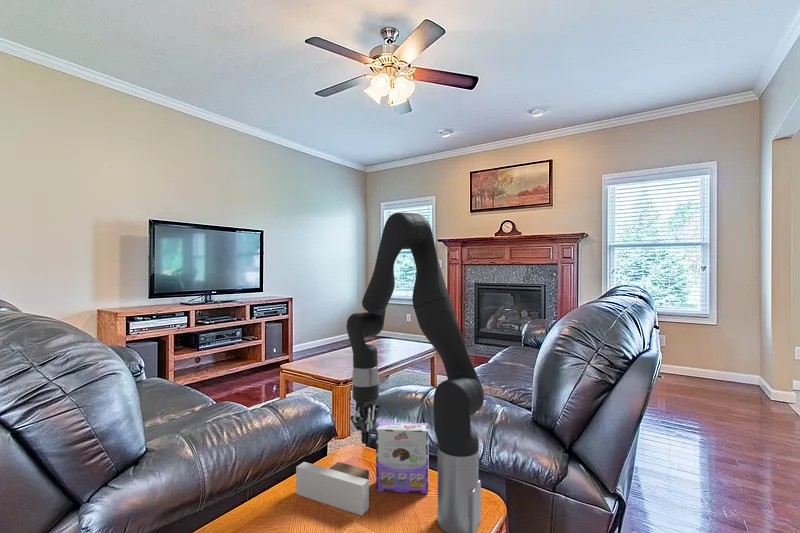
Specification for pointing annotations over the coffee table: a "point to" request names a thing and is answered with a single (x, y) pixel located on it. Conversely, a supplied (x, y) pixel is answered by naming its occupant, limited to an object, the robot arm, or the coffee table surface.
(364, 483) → the painted board
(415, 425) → the candy box
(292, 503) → the coffee table surface
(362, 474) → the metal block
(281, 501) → the coffee table surface
